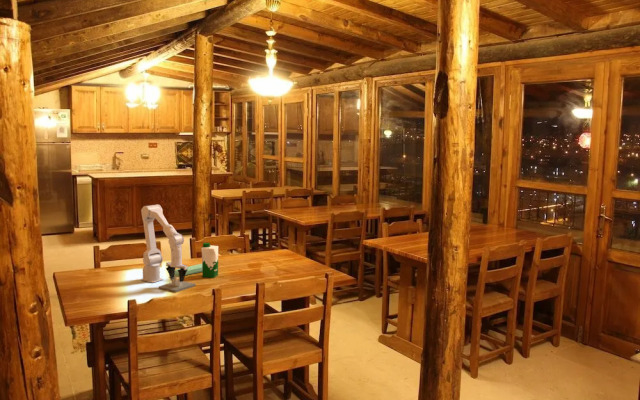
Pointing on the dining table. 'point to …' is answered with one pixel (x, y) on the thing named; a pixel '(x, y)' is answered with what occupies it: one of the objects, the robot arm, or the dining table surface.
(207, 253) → the milk carton
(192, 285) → the shaft stand
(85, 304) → the dining table surface
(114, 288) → the dining table surface
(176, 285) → the hub ring
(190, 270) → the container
